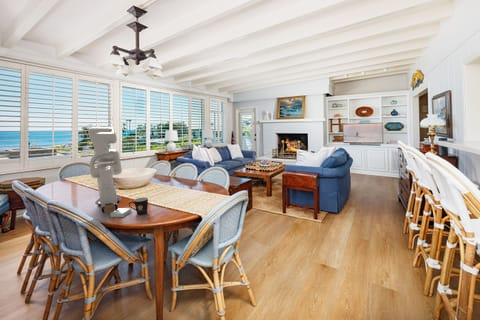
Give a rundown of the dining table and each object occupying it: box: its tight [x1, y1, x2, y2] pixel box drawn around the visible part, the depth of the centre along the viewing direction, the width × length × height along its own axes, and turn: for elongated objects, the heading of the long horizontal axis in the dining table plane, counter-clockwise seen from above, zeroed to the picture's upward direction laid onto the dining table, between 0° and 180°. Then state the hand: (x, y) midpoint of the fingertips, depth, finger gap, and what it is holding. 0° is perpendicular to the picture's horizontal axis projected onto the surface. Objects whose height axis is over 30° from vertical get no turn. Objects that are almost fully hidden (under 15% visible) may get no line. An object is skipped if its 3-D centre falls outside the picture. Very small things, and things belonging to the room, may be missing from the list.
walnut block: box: [104, 203, 115, 215], centre depth 157 cm, size 5×5×6 cm
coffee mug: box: [128, 197, 149, 216], centre depth 153 cm, size 12×9×10 cm
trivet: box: [109, 207, 132, 218], centre depth 153 cm, size 9×9×3 cm
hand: (109, 211), depth 157 cm, fingers open, 6 cm apart
